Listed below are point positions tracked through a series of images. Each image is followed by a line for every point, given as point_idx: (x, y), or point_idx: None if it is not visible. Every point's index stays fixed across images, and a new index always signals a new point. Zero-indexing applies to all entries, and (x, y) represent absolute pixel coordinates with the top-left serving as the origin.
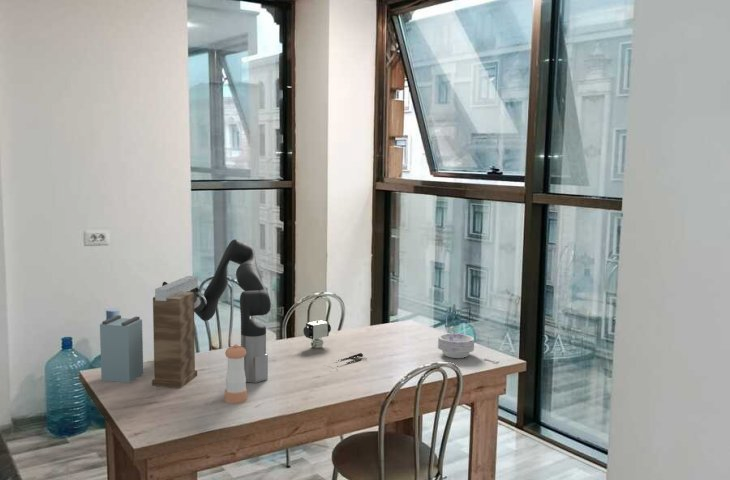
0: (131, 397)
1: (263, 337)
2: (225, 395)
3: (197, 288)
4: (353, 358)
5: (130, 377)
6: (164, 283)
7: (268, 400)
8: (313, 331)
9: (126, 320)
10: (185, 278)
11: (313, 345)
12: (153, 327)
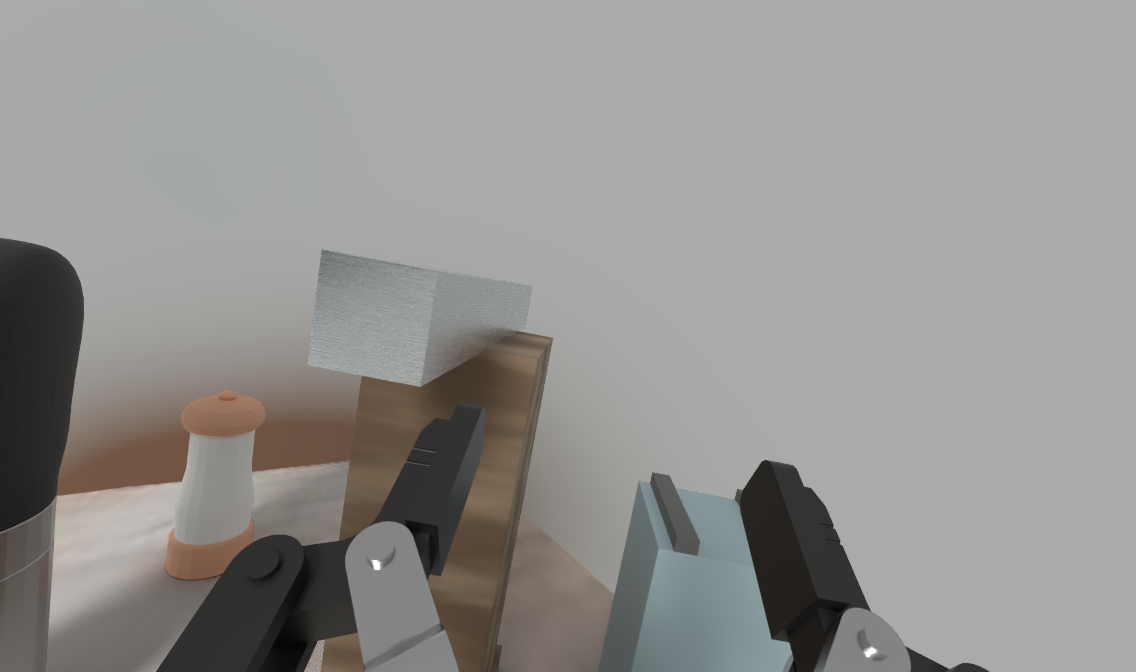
0: (527, 583)
1: None
2: (252, 535)
3: (184, 646)
4: None
5: None
6: (757, 472)
7: (97, 548)
8: None
9: (717, 538)
10: (445, 271)
11: None
12: (530, 458)
